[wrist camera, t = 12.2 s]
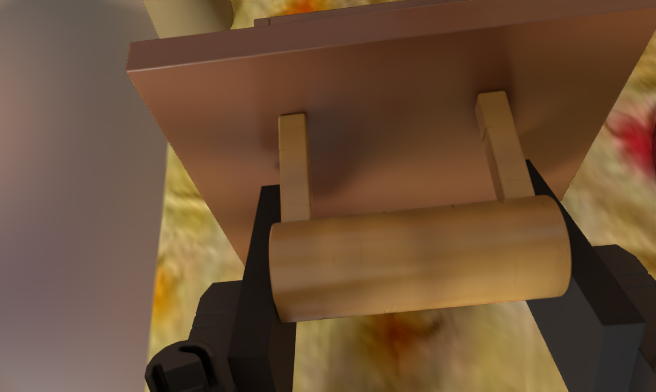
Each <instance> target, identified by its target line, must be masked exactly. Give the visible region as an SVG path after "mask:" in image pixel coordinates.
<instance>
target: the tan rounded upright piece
mask: <svg viewBox="0 0 656 392" xmlns="http://www.w3.org/2000/svg"><path fill="white" fill-rule="evenodd" d="M143 2H144V4H145V7H146V9H147V11H148V13H149V16H150V18H151V20H152V23H153V25H154V27H155V30H156V32H157V34H158V36H159V37H160V39H162V38H170V37H178V36H186V35H195V34H203V33H211V32H219V31H227V30H230V27H231V25H232V19H233V11H232V6H231V3H230V1H229V0H143Z"/></svg>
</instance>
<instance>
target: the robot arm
mask: <svg viewBox="0 0 656 392" xmlns="http://www.w3.org/2000/svg"><path fill="white" fill-rule="evenodd" d="M525 161H526V165H527V168H528V172H529V175H530V179H531V182H532V186H533V189H534V193H535V196H538V195H547V196H550V197H551V198H552V199H554V201H555V202H556V203H557V205H558V207H559V209H560V211H561V213H562V215H563V218H564V221H565V224H566V227H567V231H568V235H569V240H570V247H571V257H572V270H571V279H570V284H569V287H568V290H567V292H566V293H565V294H564V295H562V296H560V297H553V298H542V299H532V300H526V302H527V304H528V306H529V309H530V311H531V313H532V315H533V317H534V319H535V321H536V323H537V325H538V328H539V330H540V332H541V334H542V336H543V338H544V340H545V342H546V344H547V347H548V349H549V351H550V353H551V355H552V357H553V359H554V361H555V363H556V366H557V368H558V370H559V372H560V374H561V376H562V378H563V380H564V382H565V385H566V387H567V389H568V391H569V392H656V281H655V280H654V278H653V277H652V276H651V275H650V274H648V271H647V270H646V268H645V267H644V266H643V265H642V264H641V262H640V261H639V260H638V259H637V257H636V256H634V255H632V254H631V253H629V252H628V251H626V250H624V249H623V248H621V247H620V246H618V245H616V244H615V245H604V246H593V247H592V246H591V244H590V243H589V241H588V240H587V239H586V237H585V236H584V235H583V233H582V232H581V230H580V229H579V228H578V226H577V225H576V223H575V222H574V221H573V219H572V218H571V217H570V215H569V214H568V212H567V211H566V210H565V208H564V207H563V205H562V204H561V203H560V201H559V200H558V199H557V197H556V196H555V194H554V193H553V192H552V190H551V189H550V187H549V186H548V185H547V183H546V182H545V181H544V179H543V178H542V176H541V175H540V174H539V172H538V171H537V169H536V168H535V167H534V165H533V164H532V163H531V161H530V160H529V159H526V160H525ZM653 163H654V168H655V173H656V125H655V129H654V135H653ZM280 222H281V199H280V184H277V185H267V186H261V191H260V196H259V201H258V206H257V211H256V216H255V221H254V226H253V231H252V235H251V240H250V245H249V250H248V255H247V260H246V265H245V270H244V275H243V280H239V281H228V282H217V283H212V284H211V286H210V287H209V288H208V289H207V290H206V291H205V293H204V294H203V295H202V296H201V297H200V301H199V304H198V308H197V311H196V316H195V318H194V321H193V325H192V329H191V332H190V335H189V338H188V340H185V341H179V342H176V343H174V344H171V345H169V346H167V347H165V348H164V349H162V350H161V351H160V352H158V353H157V354H156V355H155V356H154V357H153V358H152V360H151V361H150V362H149V364H148V365H147V368H146V372H145V379H146V382H147V385H148V387H149V390H150V392H292V390H293V373H294V357H295V340H296V324H297V322H290V323H282V322H281V321H280V320H279V318H278V315H277V312H276V309H275V305H274V300H273V294H272V288H271V279H270V268H269V237H270V231H271V227H272V225H273V224H274V223H280Z"/></svg>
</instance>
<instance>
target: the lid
mask: <svg viewBox="0 0 656 392" xmlns="http://www.w3.org/2000/svg"><path fill="white" fill-rule="evenodd" d="M655 30H656V0H468V1H460V2H452V3H444V4H436V5H428V6H420V7H412V8H404V9H396V10H388V11H380V12H372V13H364V14H356V15H348V16H340V17H331V18H323V19H315V20H307V21H299V22H291V23H283V24H275V25H267V26H259V27H251V28H243V29H235V30H227V31H219V32H211V33H203V34H195V35H186V36H178V37H170V38H162V39H155V40H146V41H138V42H131V43H130V46H129V52H128V59H127V66H126V73H127V74H128V76H129V77H130V79H131V80H132V82H133V84H134V86H135V87H136V89H137V90H138V92H139V94H140V95H141V97H142V99H143V100H144V102H145V104H146V105H147V107H148V109H149V110H150V112H151V113H152V115H153V117H154V118H155V120H156V122H157V123H158V125H159V127H160V128H161V130H162V132H163V133H164V135H165V136H166V138H167V140H168V141H169V143H170V145H171V146H172V148H173V150H174V151H175V153H176V155H177V156H178V158H179V159H180V161H181V163H182V164H183V166H184V168H185V169H186V171H187V173H188V174H189V176H190V178H191V179H192V181H193V182H194V184H195V186H196V187H197V189H198V191H199V192H200V194H201V196H202V197H203V199H204V200H205V202H206V204H207V205H208V207H209V209H210V210H211V212H212V214H213V215H214V217H215V219H216V220H217V222H218V223H219V225H220V227H221V228H222V230H223V232H224V233H225V235H226V237H227V238H228V240H229V241H230V243H231V245H232V246H233V248H234V250H235V251H236V253H237V255H238V256H239V258H240V260H241V261H242V263H243V264H244V266H245V265H246V260H247V255H248V250H249V245H250V240H251V235H252V231H253V226H254V221H255V216H256V211H257V206H258V201H259V196H260V191H261V186H267V185H277V184H280V199H281V222H280V223H274V224H273V225H272V227H271V231H270V237H269V268H270V279H271V288H272V294H273V300H274V305H275V309H276V312H277V315H278V318H279V320H280V321H281V322H282V323H290V322H300V321H311V320H321V319H332V318H342V317H353V316H363V315H374V314H384V313H395V312H405V311H416V310H427V309H437V308H448V307H458V306H469V305H479V304H490V303H500V302H511V301H521V300H532V299H542V298H553V297H560V296H562V295H564V294H565V293H566V292H567V290H568V287H569V284H570V279H571V270H572V257H571V247H570V240H569V235H568V231H567V227H566V224H565V221H564V218H563V215H562V213H561V211H560V209H559V207H558V205H557V203H556V202H555V201H554V199H552V198H551V197H550V196H547V195H538V196H535V193H534V189H533V186H532V182H531V179H530V175H529V172H528V168H527V165H526V161H525V160H526V159H529V160H530V161H531V163H532V164H533V165H534V167H535V168H536V169H537V171H538V172H539V174H540V175H541V176H542V178H543V179H544V181H545V182H546V183H547V185H548V186H549V187H550V189H551V190H552V192H553V193H554V194H555V196H556V197H557V199H558V200H559V201H561V199H562V198H563V196H564V194H565V192H566V190H567V189H568V187H569V185H570V183H571V181H572V180H573V178H574V176H575V174H576V172H577V171H578V169H579V167H580V165H581V163H582V162H583V160H584V158H585V156H586V154H587V153H588V151H589V149H590V147H591V145H592V144H593V142H594V140H595V138H596V136H597V135H598V133H599V131H600V129H601V127H602V126H603V124H604V122H605V120H606V118H607V116H608V115H609V113H610V111H611V109H612V107H613V106H614V104H615V102H616V100H617V98H618V97H619V95H620V93H621V91H622V89H623V88H624V86H625V84H626V82H627V80H628V79H629V77H630V75H631V73H632V71H633V70H634V68H635V66H636V64H637V62H638V61H639V59H640V57H641V55H642V53H643V52H644V50H645V48H646V46H647V44H648V43H649V41H650V39H651V37H652V35H653V34H654V32H655Z"/></svg>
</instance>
